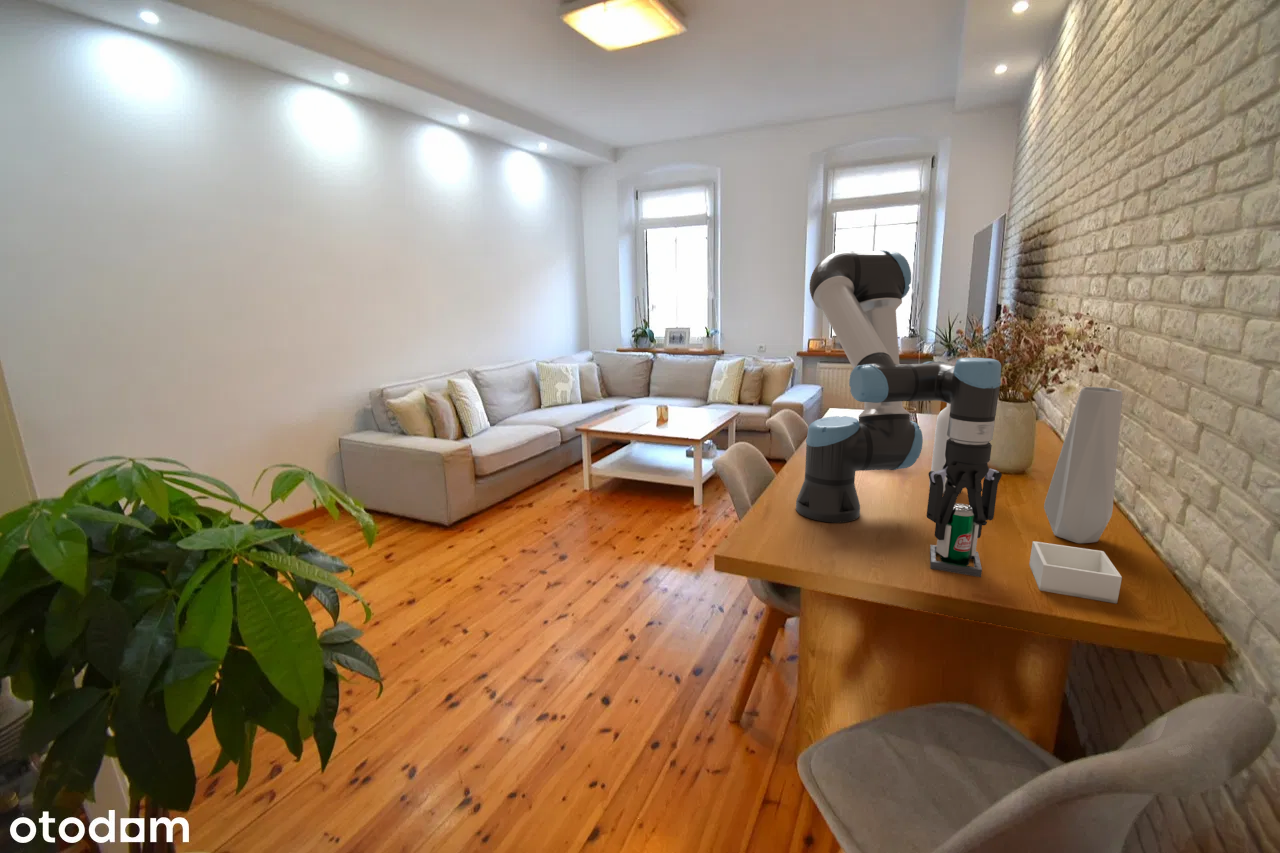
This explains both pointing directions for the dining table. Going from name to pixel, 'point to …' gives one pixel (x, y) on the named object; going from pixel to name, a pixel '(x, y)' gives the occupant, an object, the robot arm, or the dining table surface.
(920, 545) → the dining table surface
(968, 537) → the soda can
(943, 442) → the bottle
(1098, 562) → the bin
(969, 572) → the socket ring
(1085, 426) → the vase
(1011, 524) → the dining table surface
